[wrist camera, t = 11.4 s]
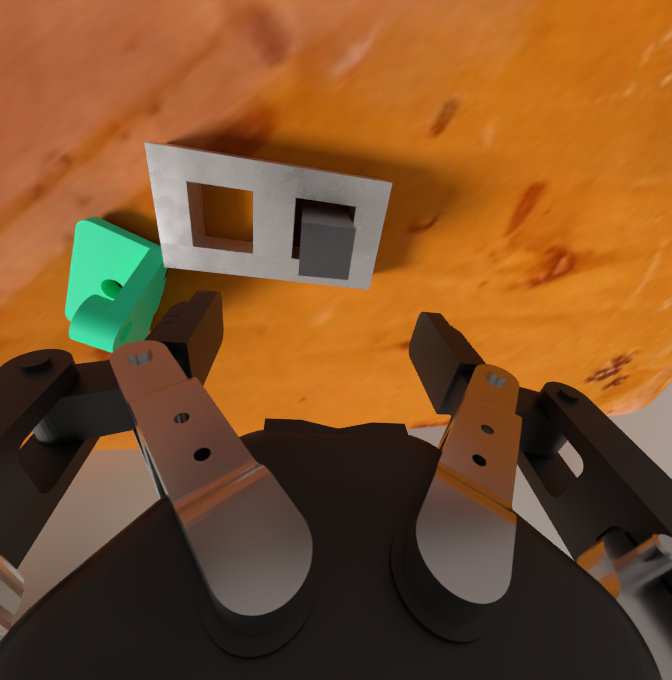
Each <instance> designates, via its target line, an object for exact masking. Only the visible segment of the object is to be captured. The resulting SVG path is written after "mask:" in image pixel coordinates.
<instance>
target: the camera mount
mask: <svg viewBox="0 0 672 680" xmlns="http://www.w3.org/2000/svg"><path fill="white" fill-rule="evenodd" d="M167 268H168V267H164V262H163V256H162V250H161V246H159V245H157V244H155V243H153V242H151V241H148V240H146V239H144V238H142V237H140V236H137V235H135V234H133V233H131V232H129V231H127V230H124V229H122V228H120V227H118V226H116V225H113V224H111V223H109V222H107V221H105V220H103V219H100V218H97V217H91V218H88V219H85V220H82V221H80V222H78V223H77V225H76V229H75V237H74V245H73V253H72V261H71V269H70V277H69V285H68V293H67V300H66V308H65V315H66V317H67V318H68V319H69V320H70V321H71V324H70V328H69V336H70V338H71V339H72V340H75V341H78V342H81V343H84V344H87V345H90V346H93V347H96V348H99V349H102V350H105V351H108V352H111V353H113V351H115V350H116V349H117V348H119V347H121V346H123V345H125V344H128V343H131V342H136V341H143V340H144V339H145V338H146V337H147V336H148V333H149V329H150V326H151V323H152V319H153V316H154V314H155V313H156V312H157V310H158V306H159V303H160V300H161V296H162V293H163V290H164V286H165V283H166V279H167V278H166V277H165V275H166V271H167ZM115 281H117V282H118V283H120V284H121V285H122V286H123V288H121V287H119V286H118V285H117V284H116V282H115Z"/></svg>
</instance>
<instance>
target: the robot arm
mask: <svg viewBox="0 0 672 680" xmlns="http://www.w3.org/2000/svg"><path fill="white" fill-rule="evenodd" d="M222 340H223V315H222V300H221V294H220V293H219V292H212V291H201V290H198V291H197V292H196V294H195V295H194V296H193V298H192V299H191V300H190V302H181V303H179V304H177V305H175V306H173V307H171V308H170V310H169V311H168V312H167V313H166V314H165V316H164V317H163V318H162V319H161V320H160V323H158V324H157V325H156V326H155V328H154V329H153V330H152V331H151V332H150V334H149V335H148V336H147V337H146V338H145V339H144V340H143V341H136V342H131V343H128V344H125V345H123V346H121V347H119V348H117V349H116V350H115V351H113V353H112V354H111V355H110V358H109V360H106V361H98V362H90V363H81V364H75V362H74V359H73V357H72V355H71V354H70V353H69V352H67V351H64V350H60V349H45V350H38V351H33V352H29V353H26V354H23V355H20V356H17V357H15V358H13V359H11V360H9V361H8V362H6V363H5V364H3V365H2V366H1V367H0V680H672V479H671V478H670V477H669V476H668V475H667V474H666V473H665V472H664V471H663V470H662V469H661V468H660V467H659V466H657V465H656V464H655V463H654V462H653V461H652V460H651V459H650V458H649V457H648V456H647V455H646V454H645V453H644V452H643V451H642V450H641V449H640V448H639V447H638V446H637V445H636V444H635V443H634V442H633V441H632V440H631V439H630V438H629V437H628V436H627V435H626V434H625V433H624V432H623V431H622V430H620V429H619V428H618V427H617V426H616V425H615V424H614V423H613V422H612V421H611V420H610V419H609V418H608V417H607V416H606V415H605V414H604V413H603V412H602V411H601V410H600V409H599V408H598V407H597V406H596V405H595V404H594V403H593V402H592V401H591V400H590V399H589V398H588V397H586V396H585V395H584V394H583V393H581V392H580V391H578V390H576V389H575V388H573V387H570V386H568V385H566V384H562V383H559V382H547V383H546V384H545V385H544V386H543V388H542V389H541V391H540V392H537V391H533V390H529V389H526V388H522V387H519V382H518V381H517V379H516V378H515V377H514V376H513V375H512V374H510V373H509V372H507V371H506V370H504V369H502V368H500V367H497V366H494V365H489V364H486V363H485V362H484V361H483V359H482V358H481V357H480V356H479V354H478V353H477V352H476V351H475V350H474V348H472V346H471V345H470V343H469V342H467V340H466V338H465V337H464V336H463V335H462V333H461V332H459V331H458V330H456V329H455V328H453V327H452V326H450V325H449V323H448V322H447V321H446V320H445V318H444V317H443V316H442V315H441V314H440V313H430V312H421V313H420V315H419V317H418V320H417V323H416V326H415V329H414V332H413V335H412V338H411V341H410V345H409V356H410V359H411V361H412V363H413V365H414V367H415V369H416V371H417V373H418V376H419V378H420V380H421V382H422V384H423V386H424V388H425V390H426V392H427V395H428V397H429V399H430V401H431V403H432V405H433V407H434V409H435V411H436V414H448V415H451V419H450V421H449V423H448V425H447V427H446V429H445V432H444V434H443V436H442V439H441V441H440V443H439V446H438V448H437V447H435V446H433V445H431V444H430V443H428V442H426V441H424V440H422V439H419V438H417V437H413V436H411V435H408V433H407V430H406V427H405V424H396V423H367V424H362V425H356V426H351V427H345V428H333V427H328V426H324V425H320V424H316V423H312V422H308V421H304V420H292V419H266V418H265V425H264V430H259V431H255V432H252V433H248V434H246V435H243V436H241V437H238V435H237V434H236V433H235V431H234V430H233V428H232V427H231V425H230V424H229V423H228V421H227V420H226V418H225V417H224V415H223V414H222V413H221V411H220V410H219V408H218V407H217V406H216V404H215V403H214V401H213V400H212V398H211V397H210V396H209V394H208V393H207V391H206V390H205V388H204V387H203V385H204V383H205V380H206V378H207V376H208V373H209V371H210V369H211V366H212V364H213V362H214V360H215V357H216V355H217V353H218V350H219V348H220V346H221V343H222ZM130 430H132V431H133V433H134V436H135V438H136V441H137V443H138V446H139V448H140V451H141V453H142V456H143V458H144V460H145V463H146V465H147V468H148V470H149V473H150V475H151V478H152V481H153V483H154V486H155V489H156V492H157V495H158V497H159V500H158V501H157V502H156V503H154V504H153V505H152V506H151V507H150V508H148V509H147V510H146V511H145V512H144V513H143V514H142V515H140V516H139V517H138V518H136V519H135V520H134V521H133V522H132V523H130V524H129V525H128V526H127V527H125V528H124V529H123V530H122V531H121V532H119V533H118V534H117V535H116V536H115V537H113V538H112V539H111V540H110V541H109V542H108V543H106V544H105V545H104V546H103V547H101V548H100V549H99V550H98V551H97V552H95V553H94V554H93V555H92V556H91V557H89V558H88V559H87V560H86V561H85V562H83V563H82V564H81V565H80V566H79V567H77V568H76V569H75V570H74V571H73V572H71V573H70V574H69V575H68V576H66V577H65V578H64V579H63V580H62V581H60V582H59V583H58V584H57V585H56V586H54V587H53V588H52V589H51V590H50V591H49V592H47V593H46V594H45V595H44V596H43V597H42V598H40V599H39V600H38V601H37V602H36V603H35V604H34V605H33V606H32V607H30V608H29V609H28V610H27V611H26V612H25V614H23V615H22V617H21V618H20V619H19V620H18V621H17V622H16V623H15V624H14V625H13V626H12V622H13V618H14V615H15V613H16V610H17V608H18V606H19V603H20V601H21V598H22V595H23V592H24V580H23V577H22V575H21V574H20V573H19V572H18V571H17V568H18V567H19V565H20V564H21V562H22V560H23V559H24V557H25V555H26V554H27V552H28V551H29V549H30V548H31V546H32V544H33V543H34V541H35V540H36V538H37V537H38V535H39V533H40V532H41V530H42V528H43V527H44V525H45V524H46V522H47V520H48V519H49V517H50V516H51V514H52V513H53V511H54V509H55V508H56V506H57V505H58V503H59V501H60V500H61V498H62V497H63V495H64V494H65V492H66V490H67V489H68V487H69V485H70V484H71V482H72V481H73V479H74V478H75V476H76V474H77V473H78V471H79V470H80V468H81V466H82V465H83V463H84V462H85V460H86V458H87V457H88V455H89V454H90V452H91V450H92V449H93V447H94V446H95V444H96V443H97V441H98V439H99V438H100V436H105V435H110V434H115V433H120V432H125V431H130ZM32 431H33V433H34V434H33V435H32V436H31V437H30V438H29V439H28V440H27V442H26V443H25V444H24V445H23V446H22V447H21V444H22V443H23V441H24V440H25V438H26V437H27V436H28V435H29V434H30V433H31V432H32ZM567 440H568V441H569V442H570V444H571V445H572V446H573V447H574V448H575V450H576V451H577V452H578V453H579V455H580V456H581V458H582V460H583V466H584V467H583V472H582V473H581V475H580V476H579V477H578V478H577V477H576V476H575V475H574V473H573V472H572V471H571V469H570V468H569V467H568V465H567V464H566V462H565V461H564V460H563V458H562V457H561V456H560V454H559V453H558V451H559V450H560V449H561V448H562V446H563V445H564V444H565V443H566V442H567ZM20 447H21V449H20ZM19 449H20V450H19ZM517 464H518V466H519V468H520V469H521V471H522V472H523V475H524V476H525V478H526V480H527V481H528V482H529V485H530V486H531V488H532V490H533V491H534V493H535V495H536V496H537V498H538V500H539V501H540V503H541V505H542V507H543V508H544V510H545V512H546V513H547V515H548V517H549V519H550V520H551V522H552V524H553V525H554V527H555V528H556V530H557V532H558V534H559V535H560V537H561V539H562V540H563V542H564V544H565V546H566V547H567V549H568V551H569V552H570V554H571V556H572V558H573V559H574V560H572V559H571V558H570V557H569V556H568V555H566V554H565V553H564V552H563V551H561V550H560V549H559V548H558V547H557V546H556V545H554V544H553V543H552V542H551V541H550V540H548V539H547V538H546V537H545V536H543V535H542V534H541V533H540V532H539V531H537V530H536V529H535V528H534V527H533V526H531V525H530V524H529V523H528V522H527V521H525V520H524V519H523V518H522V517H521V516H519V515H518V514H517V513H516V512H515V511H513V509H512V500H513V491H514V483H515V475H516V467H517Z"/></svg>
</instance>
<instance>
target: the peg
mask: <svg viewBox="0 0 672 680" xmlns="http://www.w3.org/2000/svg"><path fill="white" fill-rule="evenodd" d="M355 233H356V228H355V226H354V224H353V223H352V221H351V219H350V217H349V216H348V214H347V212H346V210H345V209H344V207H343V206H337V205H329V204H321V203H313V202H305V201H304V203H303V214H302V225H301V241H300V257H299V273H298V275H299V276H309V277H320V278H331V279H341V280H348V278H349V271H350V265H351V259H352V252H353V246H354V239H355Z"/></svg>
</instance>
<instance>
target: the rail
mask: <svg viewBox="0 0 672 680" xmlns="http://www.w3.org/2000/svg"><path fill="white" fill-rule="evenodd" d="M144 143H145V150H146V156H147V162H148V168H149V175H150V181H151V187H152V193H153V200H154V206H155V212H156V218H157V225H158V231H159V237H160V243H161V250H162V256H163V262H164V267H168V268H177V269H186V270H195V271H204V272H213V273H222V274H231V275H240V276H249V277H258V278H267V279H277V280H286V281H295V282H304V283H313V284H322V285H331V286H340V287H349V288H358V289H367V290H369V288H370V283H371V279H372V274H373V270H374V265H375V261H376V256H377V252H378V247H379V242H380V238H381V233H382V229H383V224H384V220H385V215H386V211H387V206H388V202H389V197H390V193H391V188H392V184H393V183H392V182H389V181H387V180H385V179H381V178H375V177H369V176H363V175H357V174H351V173H345V172H339V171H332V170H326V169H320V168H314V167H308V166H302V165H296V164H290V163H284V162H278V161H272V160H266V159H260V158H254V157H248V156H242V155H236V154H230V153H224V152H218V151H212V150H206V149H200V148H194V147H188V146H182V145H176V144H170V143H156V142H144ZM201 183H202V184H209V185H215V186H222V187H229V188H235V189H242V190H249V191H253V242H250V241H243V240H235V239H227V238H219V237H211V236H205V224H204V211H203V199H202V187H201ZM297 198H302V199H309V200H315V201H322V202H329V203H335V204H342V205H349V206H350V210H349V217H350V219H351V221H352V223H353V224H354V226H355V228H356V233H355V239H354V246H353V252H352V259H351V265H350V271H349V278H348V280H341V279H331V278H320V277H309V276H299V275H298V273H299V257H300V248H298V247H293V243H294V229H295V215H296V201H297Z"/></svg>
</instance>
